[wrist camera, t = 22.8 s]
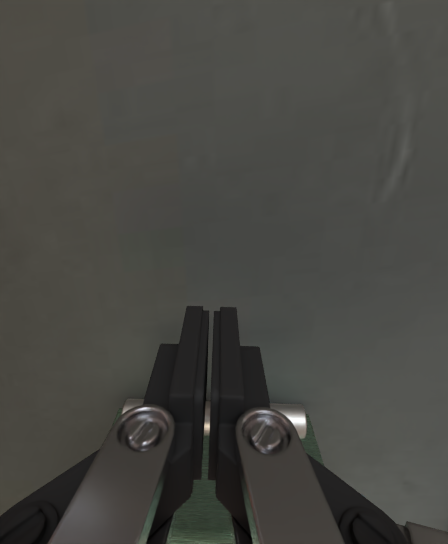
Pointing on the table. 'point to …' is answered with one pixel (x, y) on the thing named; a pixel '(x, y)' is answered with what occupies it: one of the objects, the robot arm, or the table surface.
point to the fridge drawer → (203, 503)
